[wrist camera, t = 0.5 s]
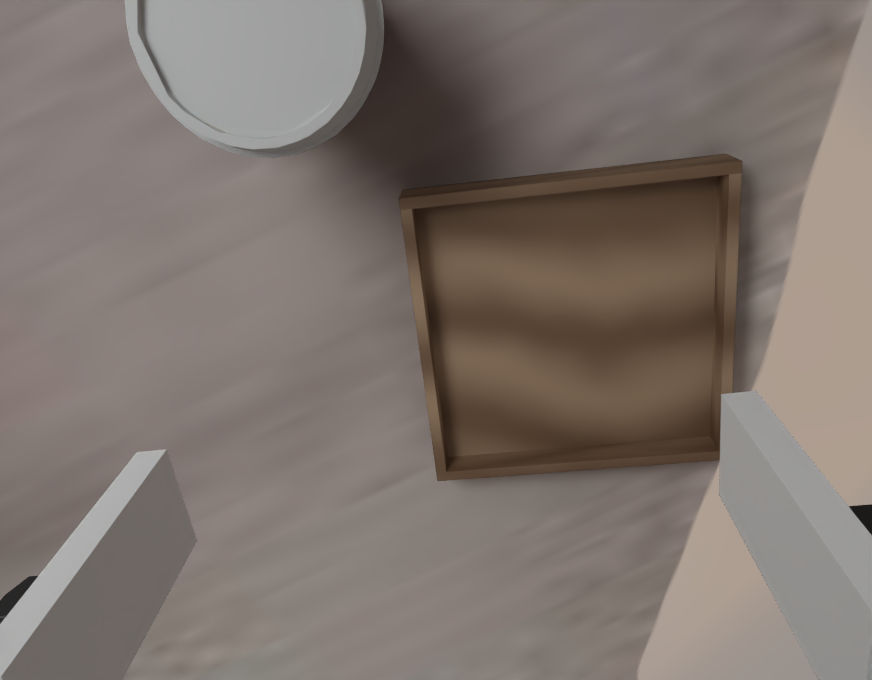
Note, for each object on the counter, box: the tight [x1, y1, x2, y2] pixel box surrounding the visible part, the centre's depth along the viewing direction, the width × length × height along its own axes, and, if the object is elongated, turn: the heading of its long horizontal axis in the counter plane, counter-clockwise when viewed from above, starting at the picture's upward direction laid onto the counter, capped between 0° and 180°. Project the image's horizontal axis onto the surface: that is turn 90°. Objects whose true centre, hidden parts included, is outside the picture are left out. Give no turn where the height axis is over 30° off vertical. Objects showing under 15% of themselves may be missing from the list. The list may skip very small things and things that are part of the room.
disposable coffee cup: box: [125, 0, 384, 158], centre depth 31 cm, size 10×10×12 cm
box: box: [399, 154, 742, 481], centre depth 40 cm, size 17×17×2 cm
